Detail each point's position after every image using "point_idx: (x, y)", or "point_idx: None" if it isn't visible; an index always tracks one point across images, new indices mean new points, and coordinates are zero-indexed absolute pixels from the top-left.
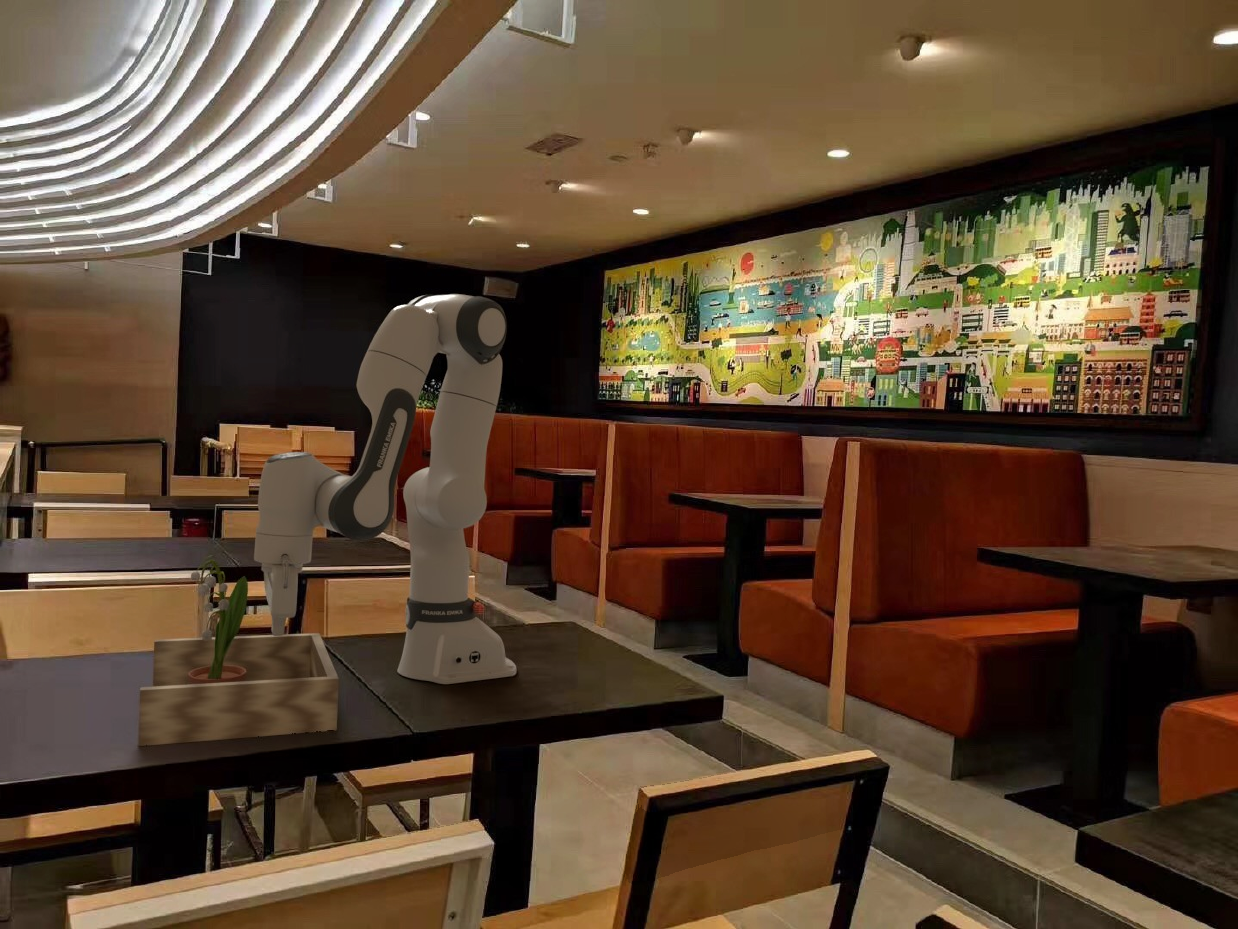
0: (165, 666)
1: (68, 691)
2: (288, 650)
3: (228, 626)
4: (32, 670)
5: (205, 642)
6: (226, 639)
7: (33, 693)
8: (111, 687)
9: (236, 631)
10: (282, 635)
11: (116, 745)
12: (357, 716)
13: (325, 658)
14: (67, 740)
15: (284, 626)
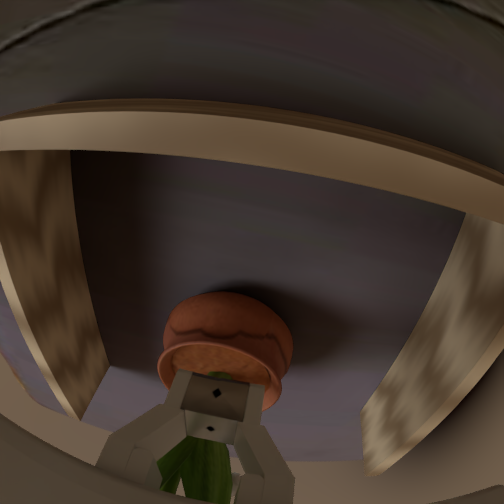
0: (92, 380)
1: (122, 415)
2: (22, 199)
3: (206, 481)
4: (58, 406)
5: (55, 370)
6: (204, 447)
7: None
8: (107, 390)
9: (183, 450)
10: (264, 386)
11: (352, 423)
12: (437, 84)
13: (346, 157)
14: (306, 444)
15: (258, 419)
